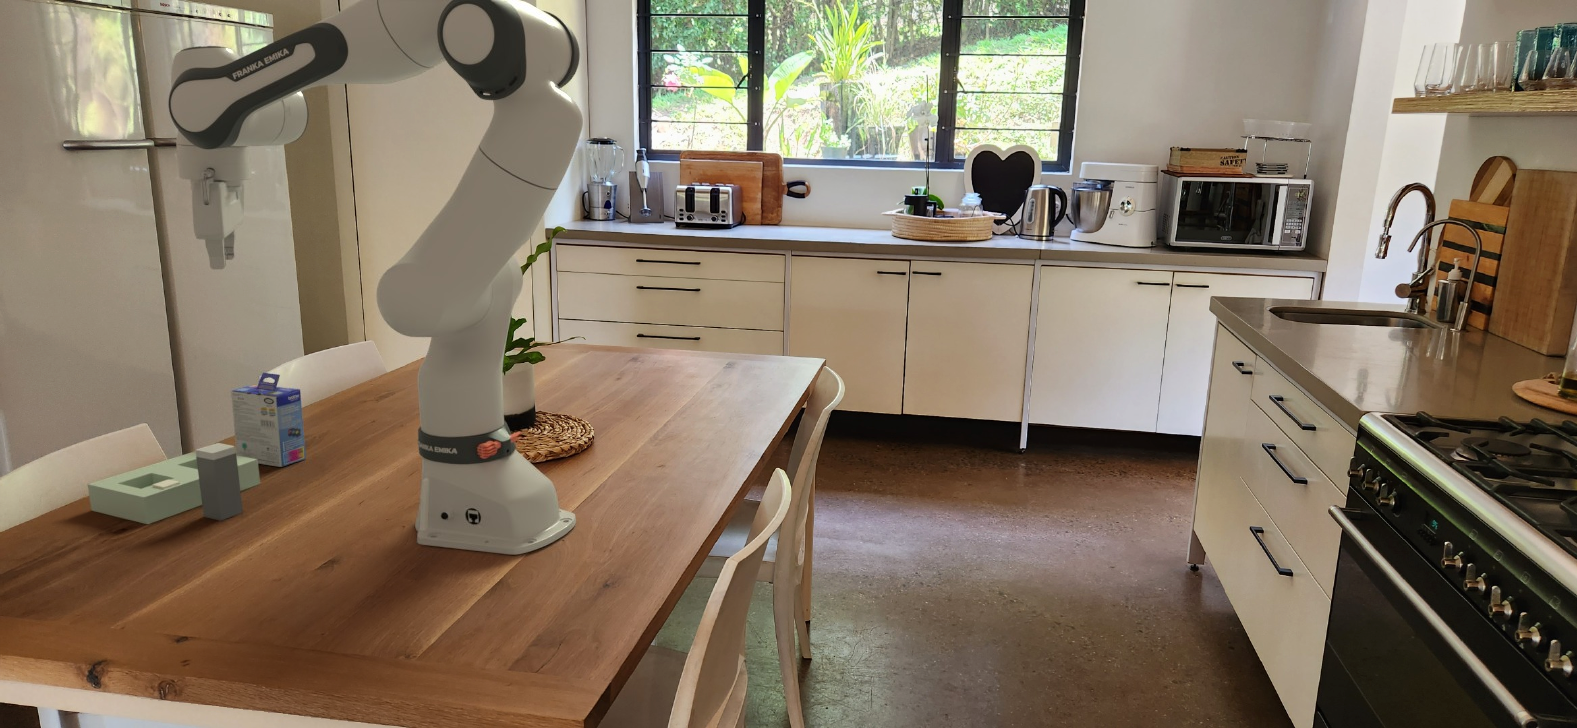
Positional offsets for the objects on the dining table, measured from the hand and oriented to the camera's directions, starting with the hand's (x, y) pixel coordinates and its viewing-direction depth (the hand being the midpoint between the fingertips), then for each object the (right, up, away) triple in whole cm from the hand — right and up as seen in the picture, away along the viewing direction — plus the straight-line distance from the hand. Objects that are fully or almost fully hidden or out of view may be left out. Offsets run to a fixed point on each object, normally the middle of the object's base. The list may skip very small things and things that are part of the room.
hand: (223, 264), depth 144 cm
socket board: (-10, -34, +5) cm, 36 cm away
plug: (+1, -36, -1) cm, 36 cm away
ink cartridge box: (-4, -31, +22) cm, 38 cm away
